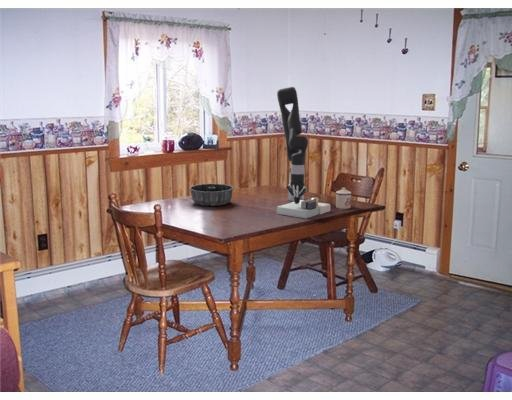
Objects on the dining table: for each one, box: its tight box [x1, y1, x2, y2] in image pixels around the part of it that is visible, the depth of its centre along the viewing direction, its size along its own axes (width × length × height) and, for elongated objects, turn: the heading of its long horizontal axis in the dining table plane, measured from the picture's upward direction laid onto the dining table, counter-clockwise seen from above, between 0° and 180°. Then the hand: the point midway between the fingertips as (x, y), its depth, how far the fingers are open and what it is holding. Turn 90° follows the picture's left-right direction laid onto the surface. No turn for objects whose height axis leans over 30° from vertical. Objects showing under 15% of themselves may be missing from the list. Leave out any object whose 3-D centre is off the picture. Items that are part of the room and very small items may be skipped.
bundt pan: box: [189, 183, 235, 207], centre depth 371 cm, size 26×26×10 cm
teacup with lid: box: [335, 187, 352, 210], centre depth 364 cm, size 12×9×12 cm
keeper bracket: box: [307, 201, 316, 210], centre depth 339 cm, size 2×6×4 cm, turn 144°
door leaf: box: [276, 202, 319, 219], centre depth 344 cm, size 19×13×4 cm
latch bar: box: [301, 196, 320, 209], centre depth 344 cm, size 14×4×4 cm, turn 145°
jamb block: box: [291, 199, 331, 215], centre depth 354 cm, size 20×11×4 cm, turn 54°
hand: (296, 203), depth 344 cm, fingers closed
